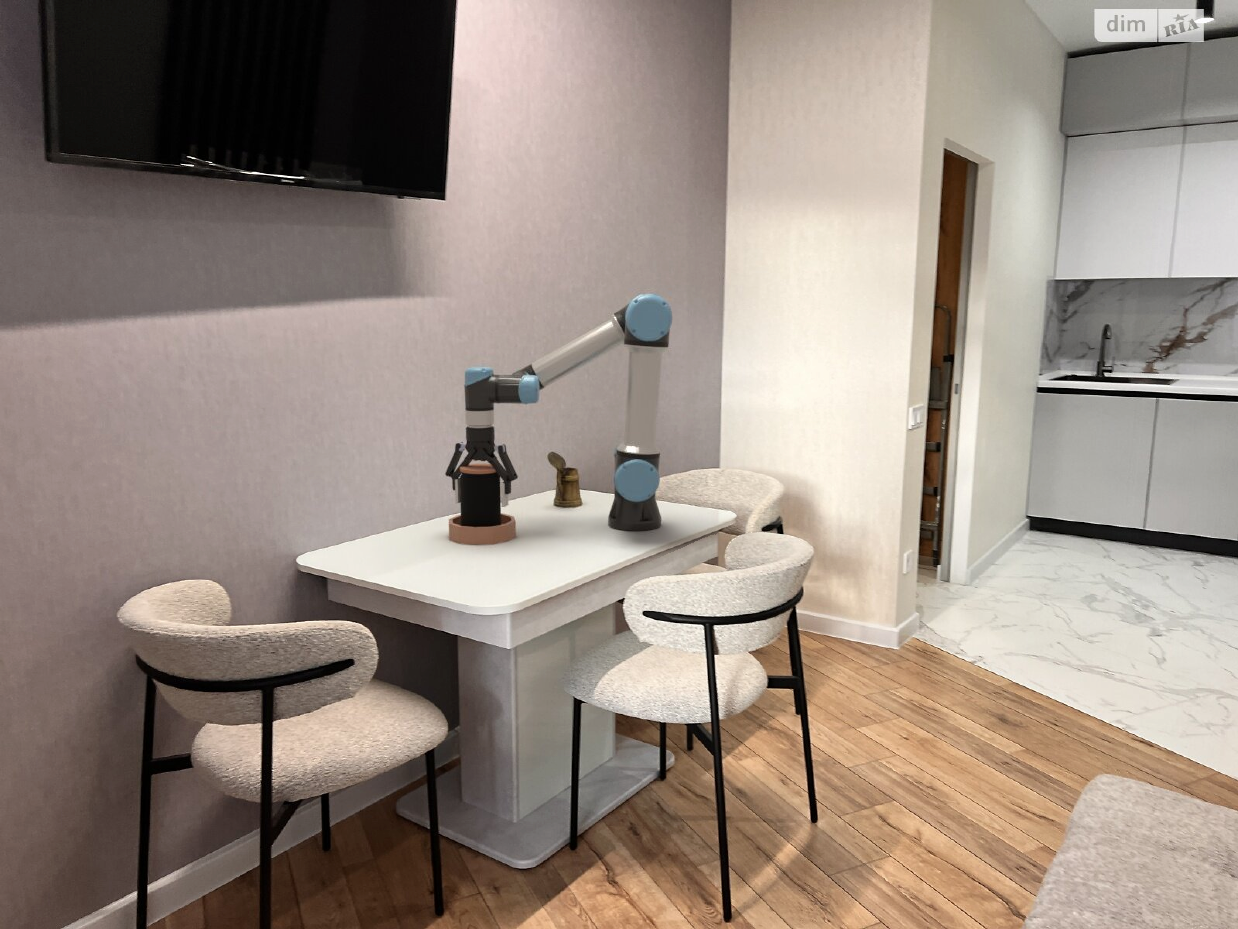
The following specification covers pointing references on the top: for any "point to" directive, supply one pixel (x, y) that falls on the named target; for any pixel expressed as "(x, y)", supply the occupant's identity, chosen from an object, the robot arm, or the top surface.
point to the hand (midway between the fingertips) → (481, 504)
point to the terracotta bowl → (482, 531)
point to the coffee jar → (480, 496)
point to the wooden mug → (565, 483)
